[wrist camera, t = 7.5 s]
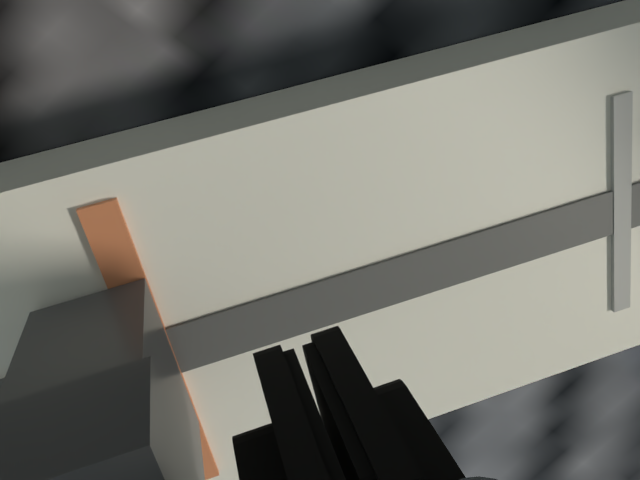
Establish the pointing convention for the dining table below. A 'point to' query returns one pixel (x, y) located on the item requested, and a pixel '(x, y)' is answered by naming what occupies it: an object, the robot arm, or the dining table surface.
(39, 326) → the fader knob
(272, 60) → the dining table surface
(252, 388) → the fader console
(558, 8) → the dining table surface
